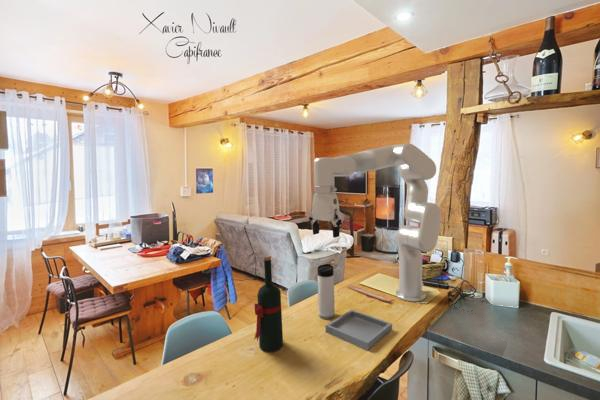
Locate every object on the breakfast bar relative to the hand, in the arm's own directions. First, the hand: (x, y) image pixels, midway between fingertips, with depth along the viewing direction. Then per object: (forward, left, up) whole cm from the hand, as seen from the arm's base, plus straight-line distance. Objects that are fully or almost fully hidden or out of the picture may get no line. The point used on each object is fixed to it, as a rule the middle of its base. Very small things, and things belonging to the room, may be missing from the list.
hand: (325, 235), depth 114 cm
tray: (+2, +15, -32) cm, 36 cm away
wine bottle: (+29, -2, -32) cm, 43 cm away
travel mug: (0, -1, -32) cm, 32 cm away
